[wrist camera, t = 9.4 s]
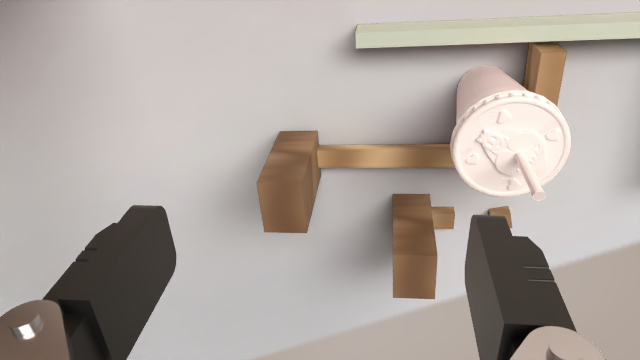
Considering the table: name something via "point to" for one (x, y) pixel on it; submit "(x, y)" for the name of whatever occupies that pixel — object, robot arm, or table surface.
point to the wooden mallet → (368, 152)
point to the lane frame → (499, 30)
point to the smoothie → (506, 135)
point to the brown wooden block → (420, 243)
